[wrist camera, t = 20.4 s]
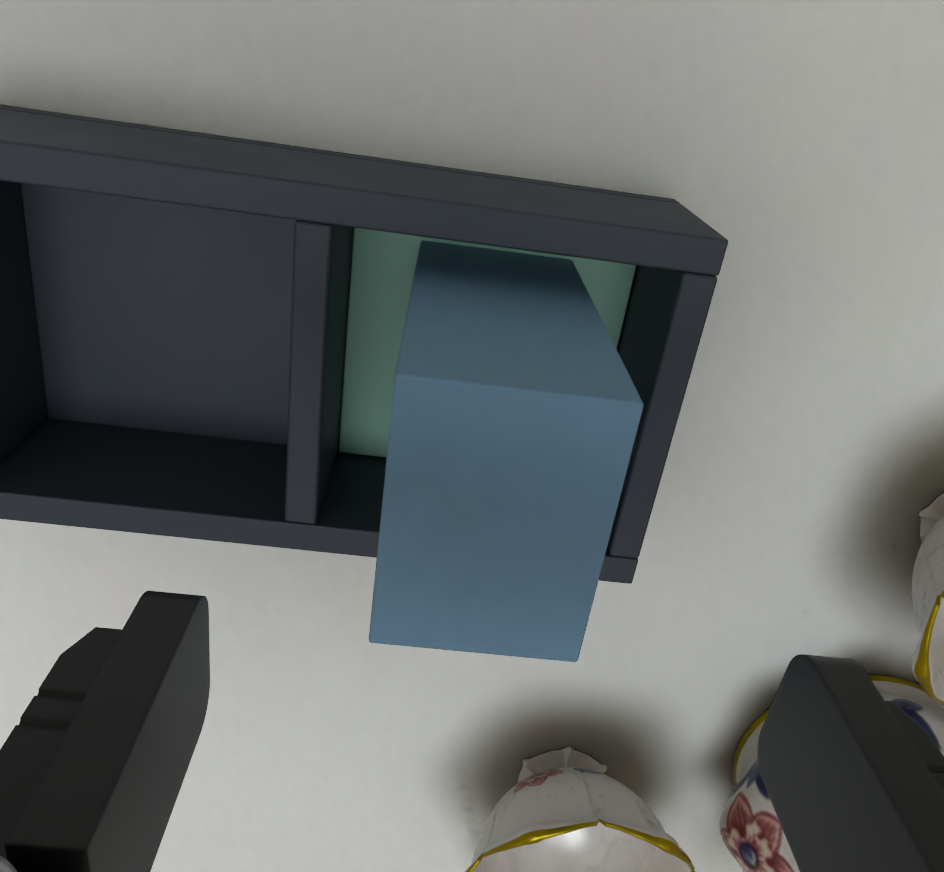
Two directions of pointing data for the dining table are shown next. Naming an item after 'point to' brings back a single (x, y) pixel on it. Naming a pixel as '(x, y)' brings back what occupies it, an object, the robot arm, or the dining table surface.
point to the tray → (279, 324)
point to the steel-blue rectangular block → (500, 457)
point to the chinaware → (748, 807)
